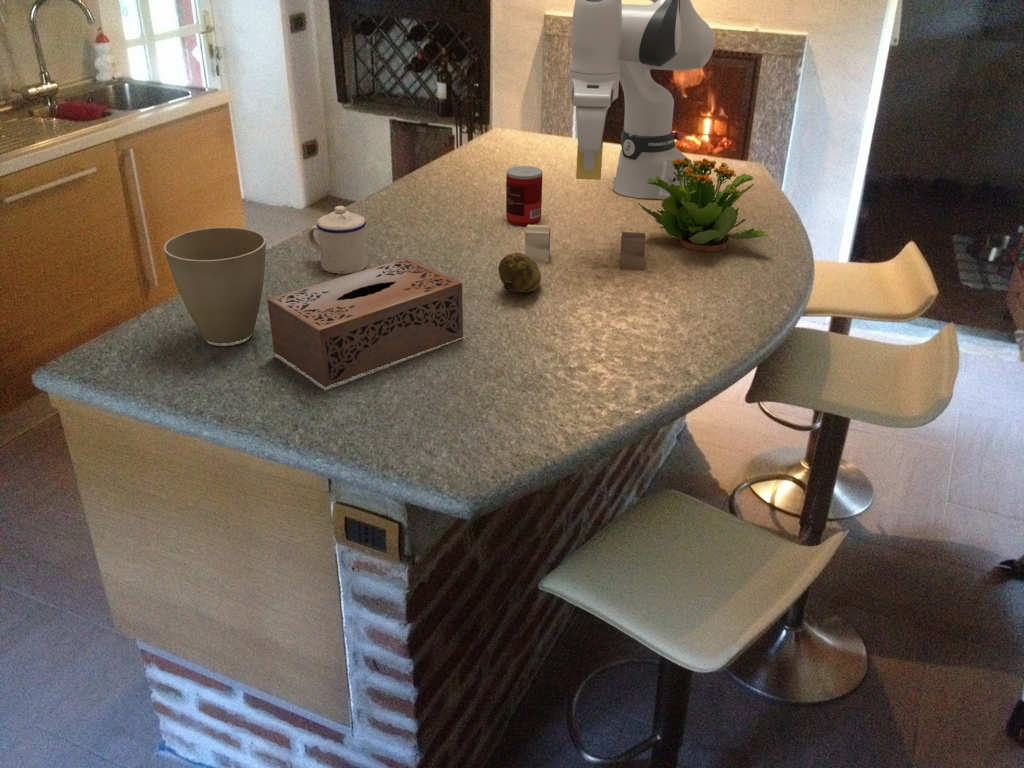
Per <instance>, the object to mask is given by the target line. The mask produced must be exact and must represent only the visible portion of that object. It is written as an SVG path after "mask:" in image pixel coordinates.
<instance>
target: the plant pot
mask: <svg viewBox="0 0 1024 768" xmlns="http://www.w3.org/2000/svg"><path fill="white" fill-rule="evenodd" d="M266 239H267V238H266V237H265V236H264V234H262V233H260V232H258V231H256V230H252V229H248V228H242V227H233V226H232V227H231V226H229V227H228V226H224V227H223V226H221V227H220V226H217V227H205V228H201V229H200V228H199V229H194V230H190V231H185V232H183V233H179V234H177V235H175V236H173V237H171V238H170V239H169V240H167V241H166V242H165V243H164V245H163V251H164V254H165V257H166V261H167V263H168V266H169V270H170V273H171V275H172V279H173V280H174V283H175V285H176V288H177V290H178V293H179V295H180V297H181V299H182V301H183V304H184V306H185V307H186V310H187V312H188V313H189V316H190V317H191V319H192V321H193V323H194V324H195V326H196V329H198V331H199V333H200V334H201V336H202V338H203V339H204V341H205V340H207V341H209V342H213V343H214V342H215V343H231V342H236V341H240V340H243V339H245V338H247V337H249V336H250V335H251V334H252V333H253V334H254V331H255V326H256V323H257V319H258V314H259V311H260V306H261V300H262V294H263V287H264V281H265V280H264V279H265V272H266V270H265V269H266V268H265V267H266V251H267V249H266V248H267V246H266V245H267V242H266V241H267V240H266ZM253 334H252V335H253Z"/></svg>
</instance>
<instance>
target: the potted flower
mask: <svg viewBox="0 0 1024 768" xmlns="http://www.w3.org/2000/svg"><path fill="white" fill-rule="evenodd" d="M686 157H687V156H686ZM686 157H685V158H684V159H683V160H681V159H677V160H672V162H673V166H674V168H675V169H676V170H677V172H678V175H677V174H676V173H675V172H673V173H674V174H675V175H676V176H677V177H678V178H679V181H680V185H675V184H671V185H670V186H669V185H668V183H665V181H663V180H661V178H660V177H659V176H656V178H655V179H656V180H657V181H656V180H655V179H650V178H649V179H648V180H649V182H647V183H648V184H653V185H657V186H659V187H661V188H663V189H665V190H666V191H667V192H669V193H670V196H669V197H668V198H666V199H662V202H661V204H660V205H661V207H662V208H663V209H660V210H659V209H657V210H656V211H652V210H651V209H650V208H647V207H646V206H645V205H642V204H640V202H637V204H638V205H639V206H640V208H642V210H644V211H645V213H647V214H649V215H650V216H652V217H653V218H654V220H655V222H656V223H657V224H658V225H659V224H660V225H661V226H662V227H661V226H659V227H658V228H659V229H664V230H665V232H666V233H667V234H668V235H669V236H671V237H672V238H675V239H678V240H679V242H680V244H681V245H682V246H683V247H684V248H687V249H689V250H693V251H698V252H711V253H712V252H717V251H721V250H723V249H725V248H726V247H727V244H728V242H729V239H733V240H744V239H753V238H761V237H768V236H769V234H765V233H766V232H765V231H763V230H758V229H756V230H755V227H753V228H750V229H748V230H747V229H746V230H743V231H741V232H735V233H732V234H731V233H729V232H730V231H731V230H732V229H733V228H735V227H737V226H740V225H742V223H745V221H747V219H748V218H747V217H746V218H743V219H742V220H741V221H739V222H738V215H739V210H740V208H739V207H737V209H735V207H734V206H733V205H734V204H735V203H736V202H737V200H739V199H740V197H742V196H743V194H745V193H746V192H747V191H748V190H750V189H751V188H752V187H753V186H754V183H751V185H749V186H747V187H746V188H745V189H739V186H741V185H742V184H744V183H747V182H750V181H753V179H754V176H752V175H750V174H746V173H742V174H741V175H737V173H735V170H734V169H731V168H730V167H729V166H730V165H728V164H727V163H726V162H721V163H720V164H721V165H720V166H718V167H716V164H717V161H715V160H709V159H707V158H704V157H703V158H702V160H701V159H699V160H694V159H693V161H692V160H691V159H689V158H688V157H687V158H686ZM690 162H691V163H690ZM689 163H690V164H689ZM688 165H689V166H688ZM681 167H682V170H681V172H680V171H679V170H680V168H681ZM685 167H687V168H686V169H685V170H683V169H684V168H685ZM682 172H683V174H682ZM712 172H714V173H715V175H716V177H717V179H716V182H717V183H716V184H714V181H713V178H712V177H710V175H711V174H712ZM682 177H684V181H683V178H682ZM732 177H734V178H735V179H734V180H733V181H732V183H731V184H730V183H729V184H727V185H725V188H724V189H723V190H722V191H721V190H720V189H721V187H722V185H723V184H724V183H727V180H729V181H731V179H732ZM685 178H686V181H687V186H686V185H685V182H686V181H685ZM692 178H693V179H692ZM681 180H682V181H683V183H684V187H683V186H682V183H681ZM689 180H690V182H688V181H689ZM715 187H716V188H715ZM737 222H738V223H737Z"/></svg>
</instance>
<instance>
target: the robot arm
mask: <svg viewBox="0 0 1024 768" xmlns="http://www.w3.org/2000/svg"><path fill="white" fill-rule="evenodd" d="M574 1H575V2H574V5H573V12H572V18H571V30H570V47H571V51H572V53H571V54H572V56H571V61H570V64H569V69H568V70H569V72H568V73H569V76H568V98H570V99H571V101H572V106H574V107H575V116H576V136H577V148H578V147H579V151H580V152H584V169H585V170H593V169H594V159H595V152H599V150H600V146H601V141H603V135H604V130H605V123H606V116H607V113H608V110H609V108H610V107H611V105H612V104H613V102H614V101H615V100H617V99H618V98H619V84H620V85H621V88H622V92H623V95H624V96H623V97H624V121H623V122H624V123H623V129H622V130H621V135H620V145H621V146H620V147H621V150H620V152H619V157H618V163H617V168H616V173H615V177H613V186H612V190H613V191H614V192H615V193H616V194H619V195H621V196H625V197H628V198H629V197H630V198H636V199H649V200H650V199H656V200H657V199H659V200H664V199H666V198H668V197H669V196H670V193H669V192H667V191H666V190H665V189H663V188H661V187H659V186H657V185H653V184H648V183H647V182H649V180H648V179H649V178H650V179H655V178H656V176H659V177H660V178H661V180H663V181H665V183H668V185H669V186H670V185H671V184H675V185H680V181H679V178H678V177H677V176H676V175H675V174H674V173H673V172H675V173H676V174H677V175H678V172H677V170H676V169H675V168H674V166H673V162H672V160H677V159H681V160H683V159H684V158H685V157H686V158H688V157H687V156H686V155H685V154H684V153H683V152H682V151H681V150H680V149H678V147H676V146H677V145H676V141H679V142H681V141H683V139H684V132H682V131H678V130H676V131H674V132H673V131H672V128H673V127H672V126H673V120H674V119H673V117H674V108H675V107H674V106H675V100H674V97H673V94H672V93H671V92H670V91H669V90H668V89H667V88H666V87H664V86H663V85H661V84H659V83H657V82H656V81H655V80H654V78H653V77H652V74H651V70H660V71H661V70H664V71H675V72H676V71H678V72H679V71H680V72H682V71H689V70H690V71H693V70H697V69H702V68H703V67H704V66H705V65H706V64H707V63H708V61H709V60H710V58H711V57H712V55H713V52H714V48H715V47H714V46H715V39H714V33H713V30H712V29H711V26H709V24H708V23H707V22H706V21H705V20H704V19H703V18H702V17H701V16H700V15H699V14H698V12H697V11H696V9H695V8H694V5H693V4H692V1H691V0H649V1H650V2H652V3H651V4H645V5H644V4H629V3H628V4H627V3H626V4H624V3H622V2H623V1H622V0H574ZM690 163H691V162H690ZM690 163H689V164H690ZM688 166H689V165H688ZM686 168H687V167H685V168H684V169H683V170H685V169H686ZM681 170H682V167H681V168H680V170H679V171H680V172H681ZM682 174H683V172H682ZM682 178H683V181H684V177H682ZM692 179H693V178H692ZM655 180H656V179H655ZM656 181H657V180H656ZM683 181H682V180H681V183H682V186H683V187H684V183H683ZM685 181H686V178H685ZM688 182H690V180H689V181H688ZM685 185H686V186H687V181H686V182H685Z"/></svg>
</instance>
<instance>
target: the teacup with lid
mask: <svg viewBox="0 0 1024 768" xmlns="http://www.w3.org/2000/svg"><path fill="white" fill-rule="evenodd" d="M366 225H367V221H366V219H365V218H364V217H363V216H362V215H360V214H358V213H353V212H351V211H349V210H346V207H345V206H343V205H337V206H335V207H334V211H332V212H330V213H329V214H326V215H322V216H320V217H319V218H318V220H317V221H316V224H315V225H313V226H310V228H309V229H308V230H307V231H308V232H307V237H308V241H309V243H310V244H311V246H312V247H313V248H314V249H315V250H317V251H319V252H320V262H321V263H320V264H321V268H322V269H323V270H324V271H325V270H326V271H325V272H327V271H328V272H327V273H330V272H331V273H330V274H335V273H337V274H336V275H348V274H347V273H350V274H352V273H356V272H359V271H363V270H365V269H366V268H367V267H368V252H367V251H368V250H367V239H366V238H367V237H366V236H367V235H366ZM315 231H318V242H317V240H316V239H315V236H314V232H315ZM318 243H319V244H318Z"/></svg>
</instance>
